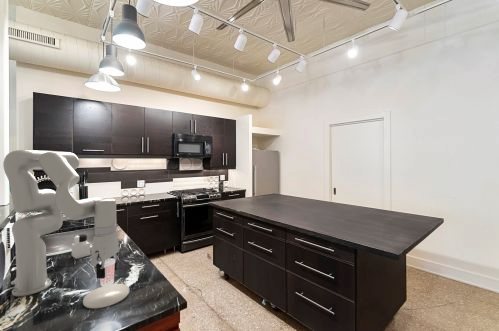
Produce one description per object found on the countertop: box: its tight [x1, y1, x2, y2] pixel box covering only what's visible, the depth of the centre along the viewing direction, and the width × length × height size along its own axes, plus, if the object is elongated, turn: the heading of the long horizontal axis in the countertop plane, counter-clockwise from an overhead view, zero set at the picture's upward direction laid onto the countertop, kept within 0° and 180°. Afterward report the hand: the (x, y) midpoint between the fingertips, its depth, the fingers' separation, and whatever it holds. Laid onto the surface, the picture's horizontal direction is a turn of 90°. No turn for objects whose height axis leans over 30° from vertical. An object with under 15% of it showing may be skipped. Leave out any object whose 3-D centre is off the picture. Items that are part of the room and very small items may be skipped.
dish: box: [82, 283, 130, 309], centre depth 95 cm, size 16×16×1 cm
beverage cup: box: [99, 258, 115, 287], centre depth 95 cm, size 6×6×14 cm
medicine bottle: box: [71, 233, 91, 260], centre depth 137 cm, size 7×7×12 cm
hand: (107, 273), depth 95 cm, fingers closed on beverage cup, 6 cm apart
